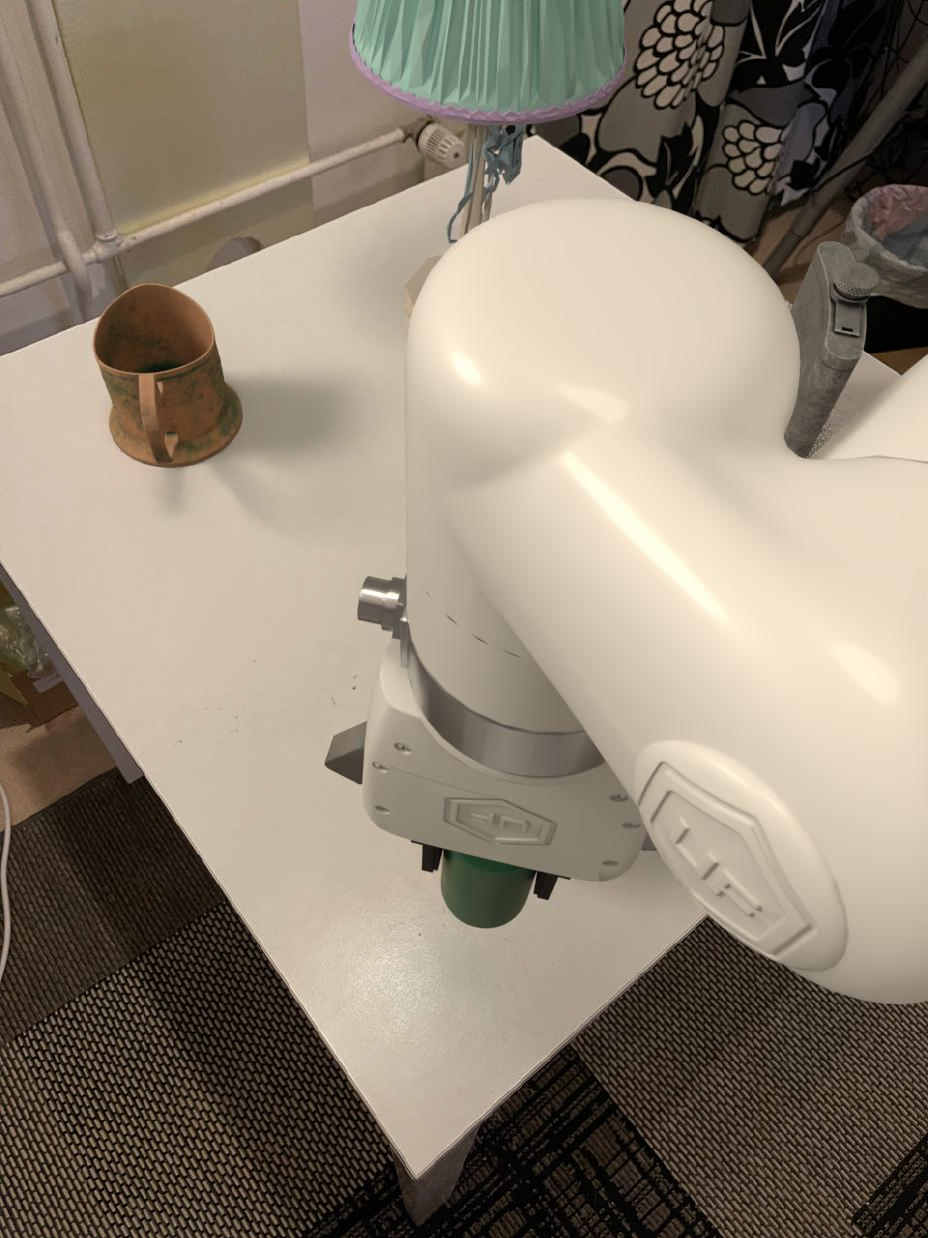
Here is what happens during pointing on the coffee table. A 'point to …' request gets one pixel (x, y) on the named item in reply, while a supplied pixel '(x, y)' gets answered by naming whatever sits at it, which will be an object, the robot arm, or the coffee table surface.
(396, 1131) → the coffee table surface
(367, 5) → the table lamp
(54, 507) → the coffee table surface
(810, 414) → the flask
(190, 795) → the coffee table surface
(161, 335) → the mug
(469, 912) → the bottle
